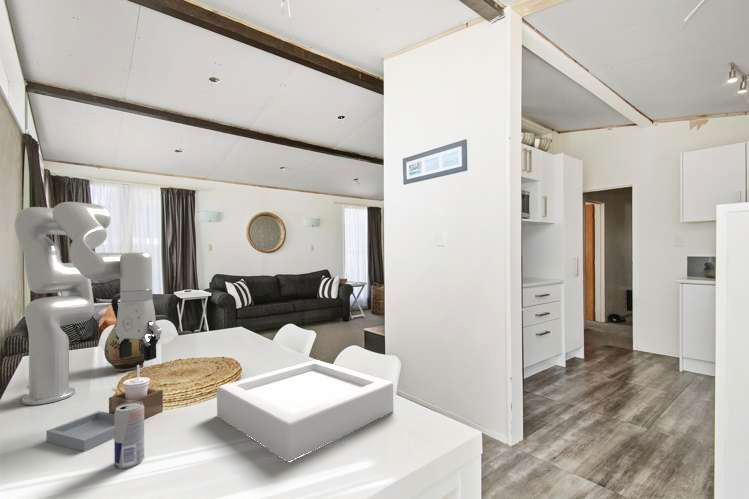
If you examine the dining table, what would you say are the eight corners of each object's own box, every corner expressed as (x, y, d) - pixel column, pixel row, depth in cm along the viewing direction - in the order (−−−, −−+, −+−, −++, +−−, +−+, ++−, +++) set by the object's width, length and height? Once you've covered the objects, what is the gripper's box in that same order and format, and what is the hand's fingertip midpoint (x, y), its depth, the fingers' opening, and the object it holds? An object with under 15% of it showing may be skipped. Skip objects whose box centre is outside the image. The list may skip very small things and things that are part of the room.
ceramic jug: (126, 362, 155) (126, 290, 156) (159, 363, 153) (159, 290, 154) (89, 375, 139) (89, 295, 139) (126, 376, 136) (126, 295, 137)
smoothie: (136, 421, 99) (136, 369, 99) (116, 419, 100) (116, 367, 101) (155, 411, 105) (155, 362, 106) (136, 409, 107) (136, 361, 107)
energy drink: (123, 456, 82) (123, 401, 82) (149, 454, 82) (149, 400, 82) (108, 470, 77) (108, 412, 77) (135, 468, 77) (135, 410, 77)
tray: (216, 417, 102) (216, 385, 102) (316, 384, 128) (316, 358, 128) (288, 466, 78) (288, 424, 78) (394, 413, 104) (394, 381, 104)
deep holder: (108, 419, 100) (108, 397, 100) (140, 407, 109) (140, 386, 109) (132, 425, 97) (132, 402, 97) (162, 411, 105) (162, 390, 106)
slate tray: (46, 441, 89) (46, 430, 89) (98, 420, 100) (98, 410, 100) (84, 451, 84) (84, 440, 84) (135, 428, 95) (135, 418, 95)
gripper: (101, 298, 103) (102, 359, 102) (146, 298, 97) (147, 364, 96) (128, 295, 110) (129, 353, 109) (171, 295, 104) (172, 356, 103)
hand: (137, 358), depth 103 cm, fingers open, 9 cm apart
